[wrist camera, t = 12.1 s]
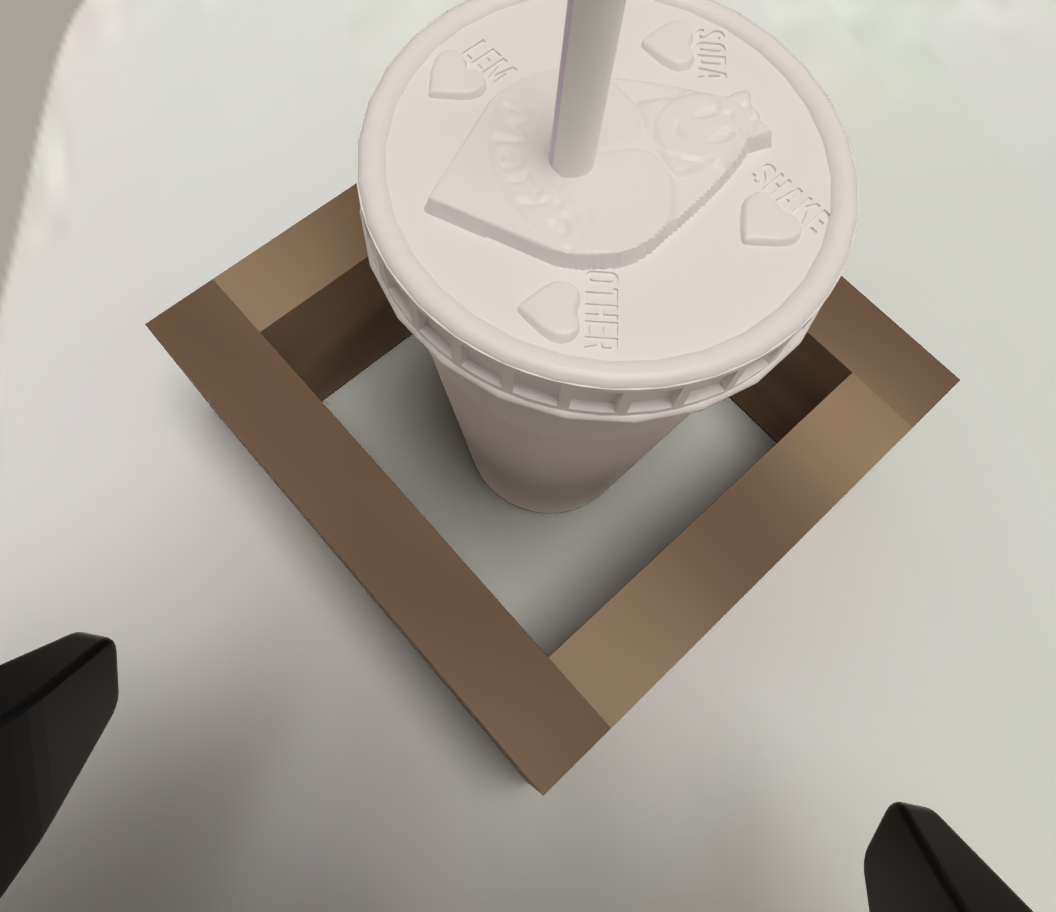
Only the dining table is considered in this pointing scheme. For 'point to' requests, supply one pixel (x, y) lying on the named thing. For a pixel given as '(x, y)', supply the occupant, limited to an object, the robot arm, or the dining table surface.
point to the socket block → (433, 566)
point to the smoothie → (599, 223)
